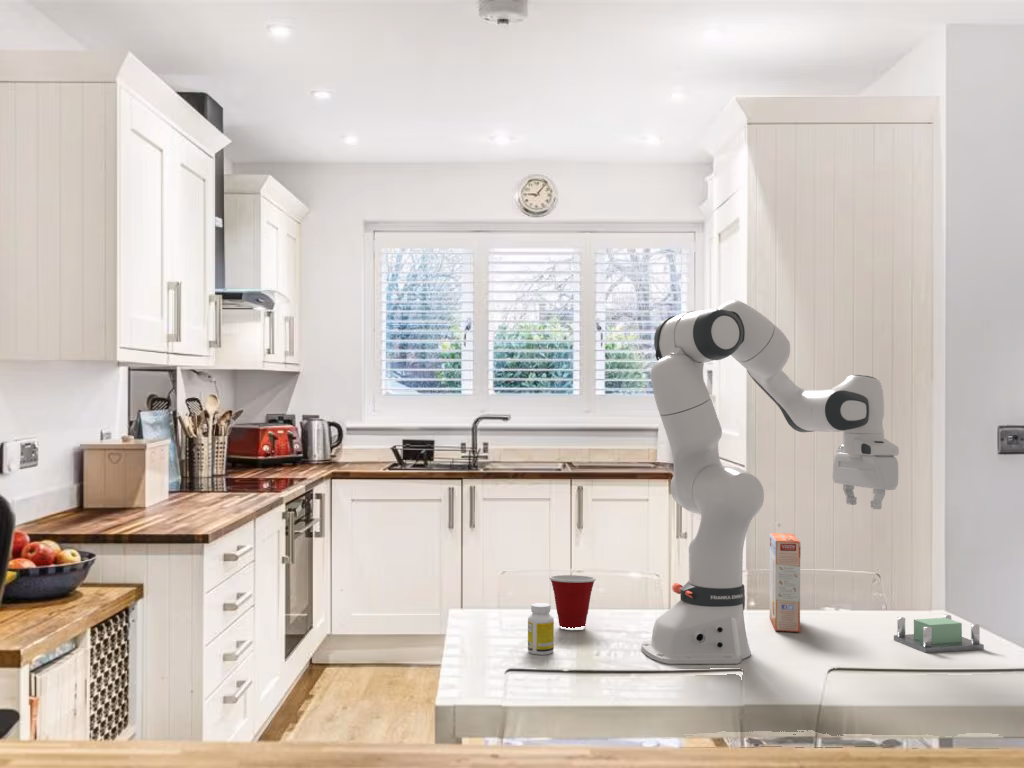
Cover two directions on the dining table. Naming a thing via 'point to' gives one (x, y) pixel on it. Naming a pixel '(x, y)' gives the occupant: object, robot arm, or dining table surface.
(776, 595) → the cracker box
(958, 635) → the green rectangular block
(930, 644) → the chassis
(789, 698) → the dining table surface
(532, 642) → the supplement bottle
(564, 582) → the plastic cup
